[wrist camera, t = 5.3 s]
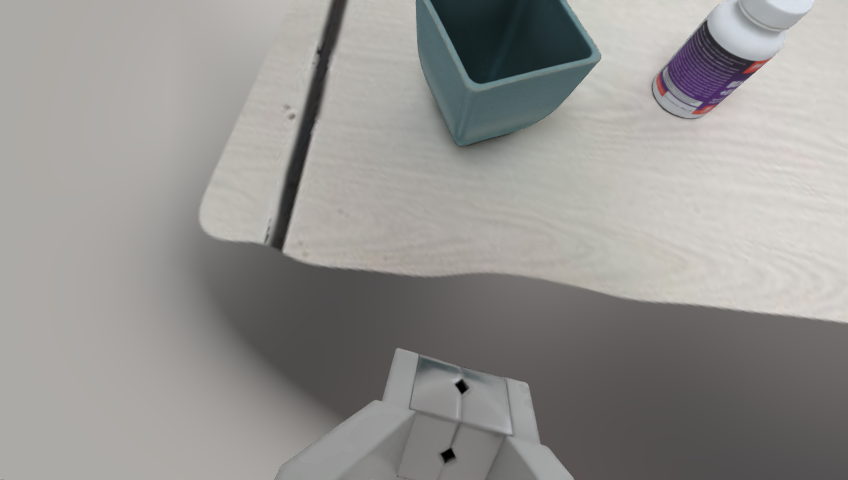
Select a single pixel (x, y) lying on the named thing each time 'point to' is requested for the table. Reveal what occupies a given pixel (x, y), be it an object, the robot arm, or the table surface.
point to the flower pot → (500, 61)
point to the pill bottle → (725, 53)
